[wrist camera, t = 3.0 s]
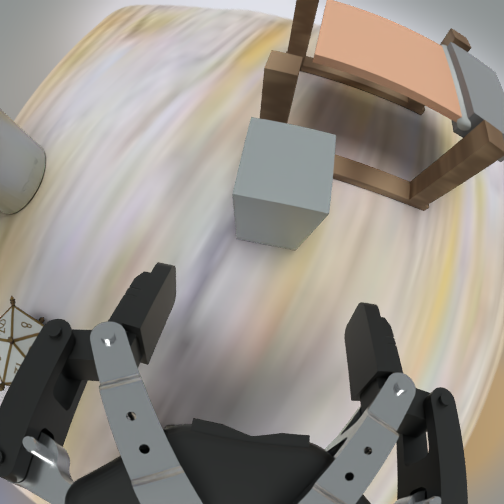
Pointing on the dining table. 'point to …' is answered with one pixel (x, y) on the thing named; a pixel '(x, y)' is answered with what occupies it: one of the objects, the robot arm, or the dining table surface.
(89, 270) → the dining table surface
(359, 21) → the trapdoor
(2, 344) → the game die
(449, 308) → the dining table surface
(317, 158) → the slate block
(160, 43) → the dining table surface
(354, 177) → the frame
